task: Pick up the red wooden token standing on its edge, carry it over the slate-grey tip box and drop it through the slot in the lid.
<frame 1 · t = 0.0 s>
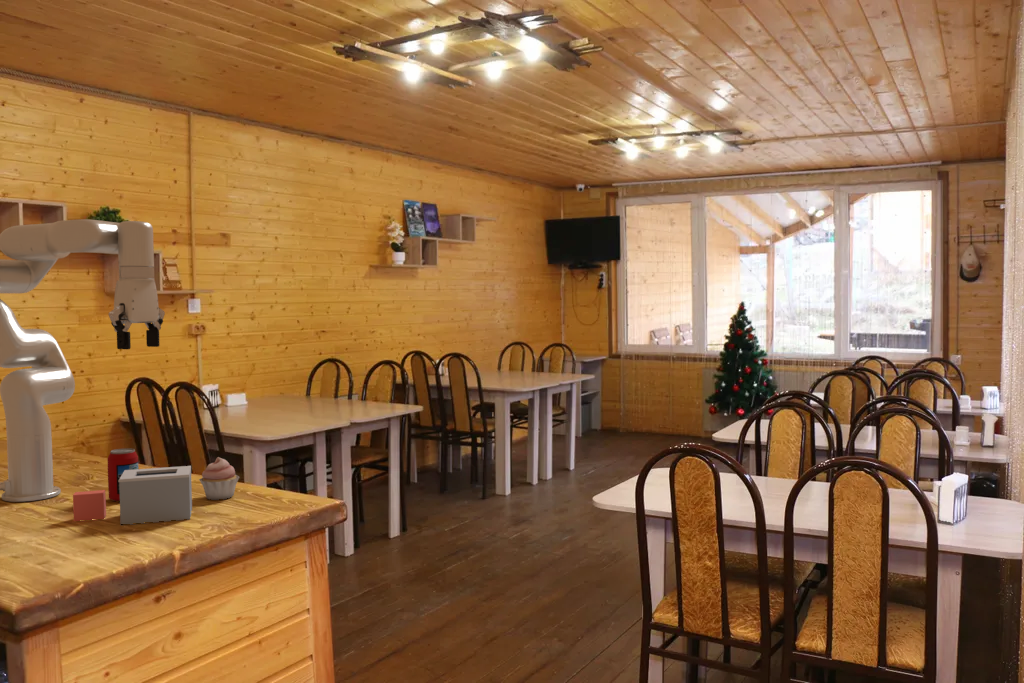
hand: (138, 347, 191), 37 cm above the table, tool pointing down, fingers open, 9 cm apart
beverage can: (124, 499, 199), on the table
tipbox: (157, 516, 183), on the table
cupcake: (219, 498, 200), on the table
token: (90, 519, 181), on the table
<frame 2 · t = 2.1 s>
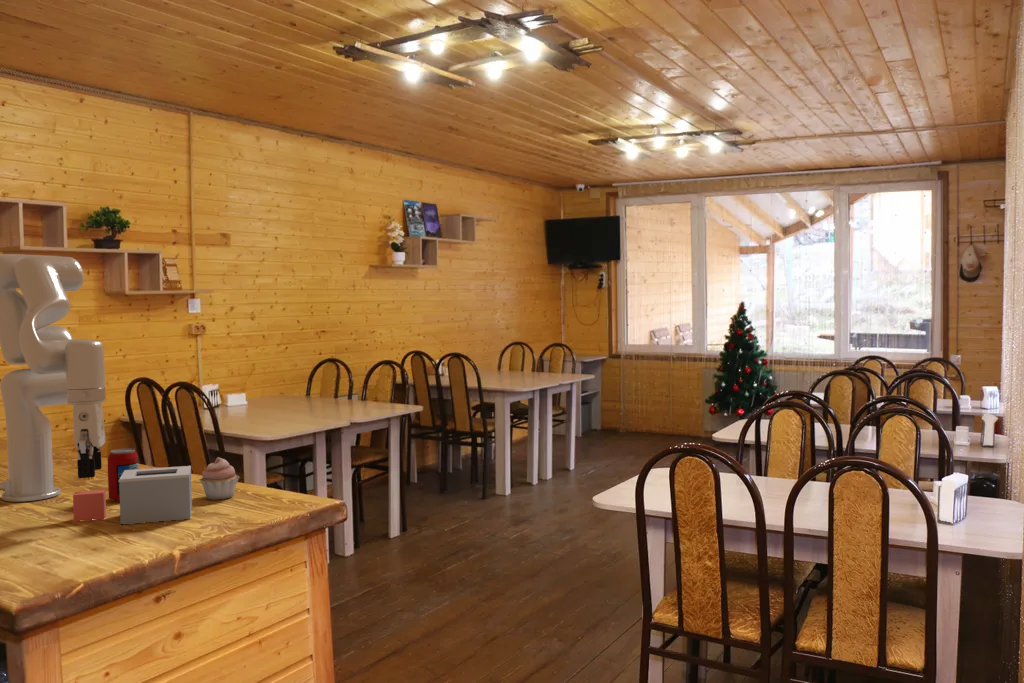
hand: (90, 473, 180), 10 cm above the table, tool pointing down, fingers open, 9 cm apart
nothing on the table moved.
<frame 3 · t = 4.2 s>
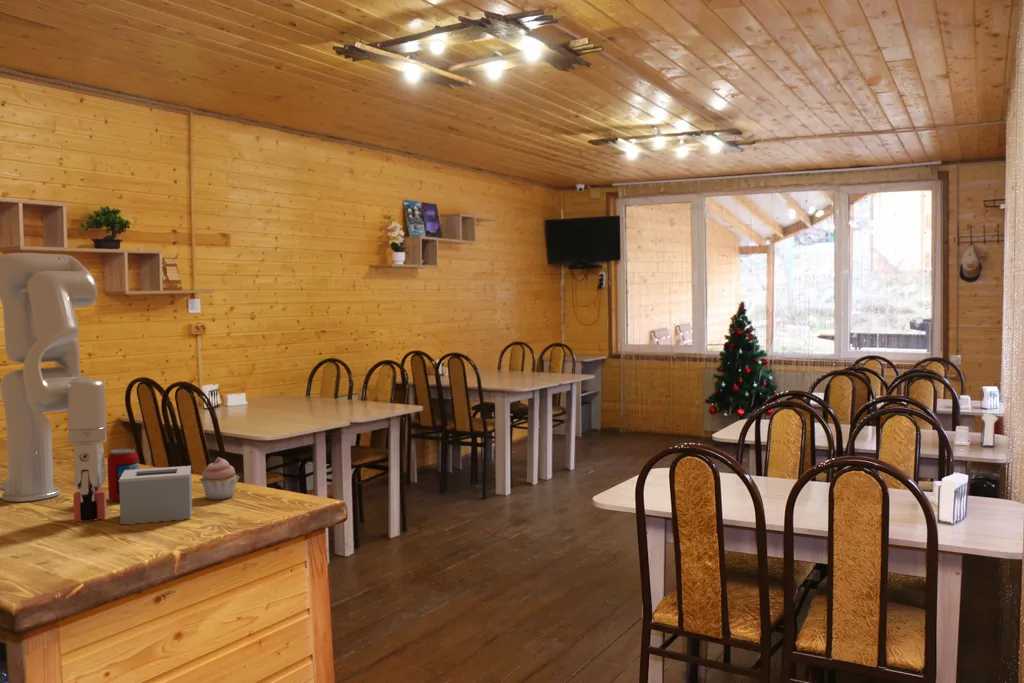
hand: (90, 516, 181), 0 cm above the table, tool pointing down, fingers closed on token, 2 cm apart
token: (90, 518, 181), on the table, touching gripper
everything else where it was.
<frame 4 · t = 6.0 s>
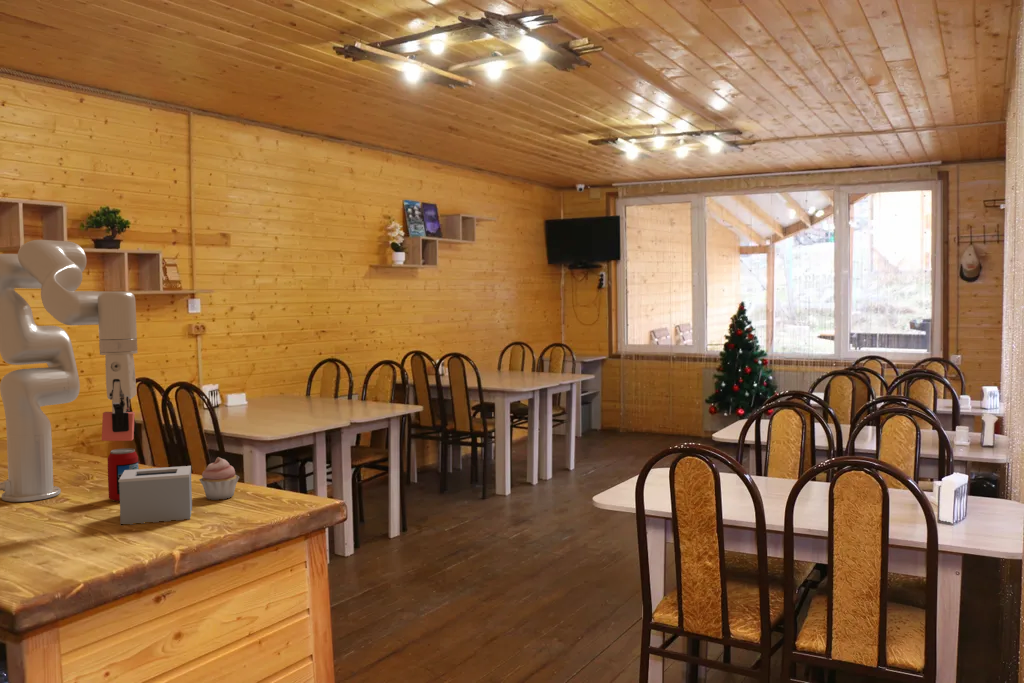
hand: (121, 429, 181), 20 cm above the table, tool pointing down, fingers closed on token, 2 cm apart
token: (117, 439, 180), point 18 cm above the table, touching gripper
everything else where it was.
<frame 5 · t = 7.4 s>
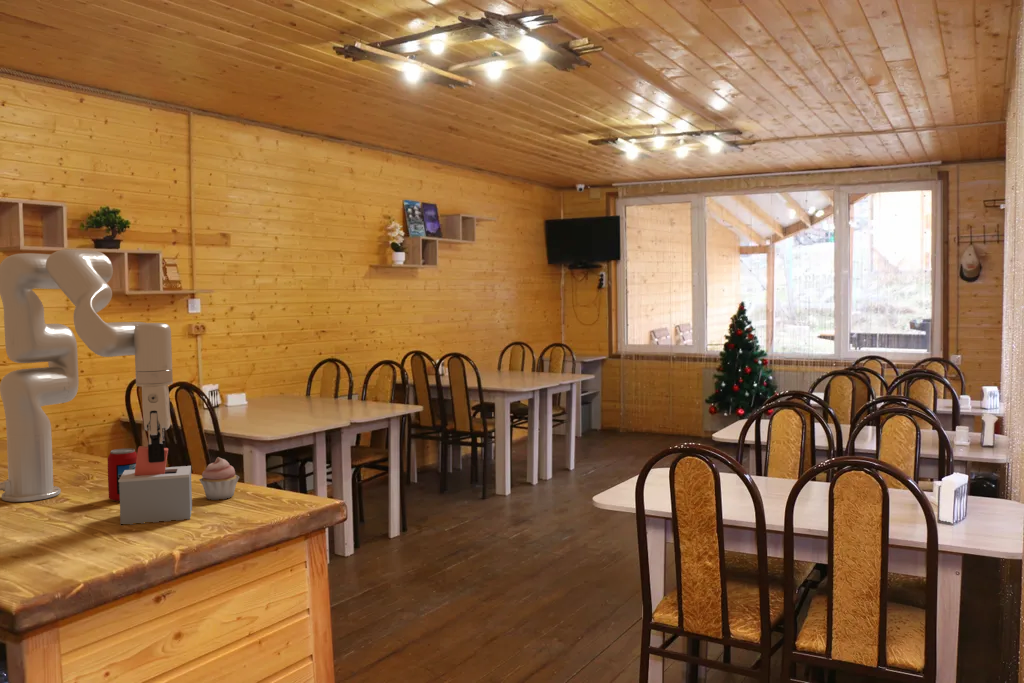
hand: (157, 459, 182), 13 cm above the table, tool pointing down, fingers closed on token, 3 cm apart
token: (149, 474, 182), point 10 cm above the table, tilted 8°, touching gripper, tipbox
everything else where it was.
when the fingers open (12 cm above the table, at t = 8.2 s): token drops 6 cm and tips over, resting on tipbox.
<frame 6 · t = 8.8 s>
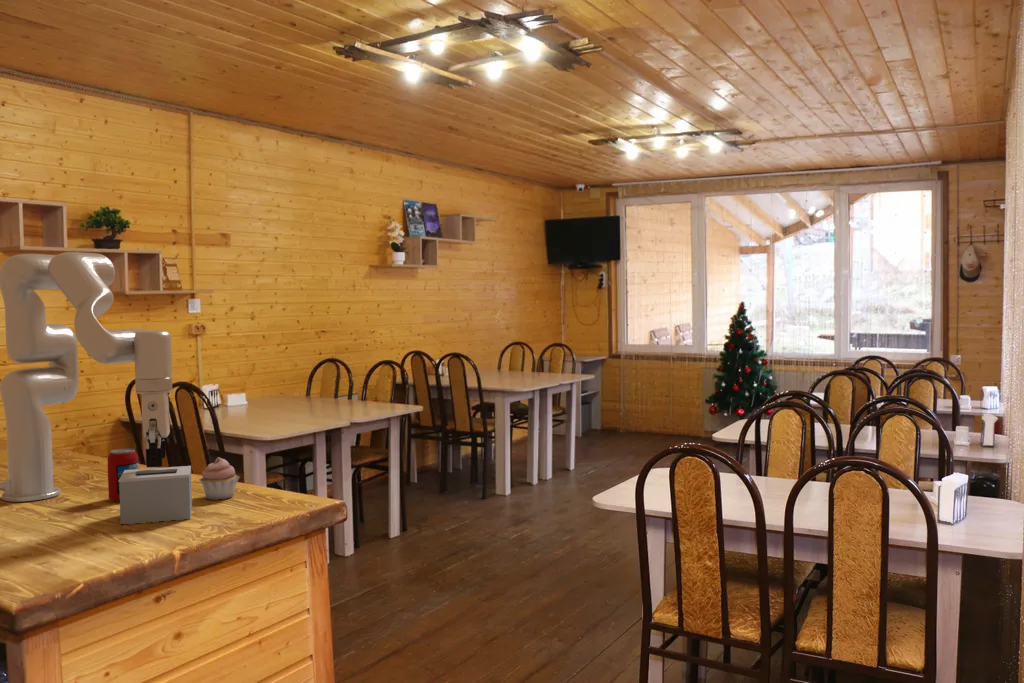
hand: (156, 462, 182), 12 cm above the table, tool pointing down, fingers open, 9 cm apart
token: (148, 501, 182), point 4 cm above the table, tilted 90°, touching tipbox
everything else where it was.
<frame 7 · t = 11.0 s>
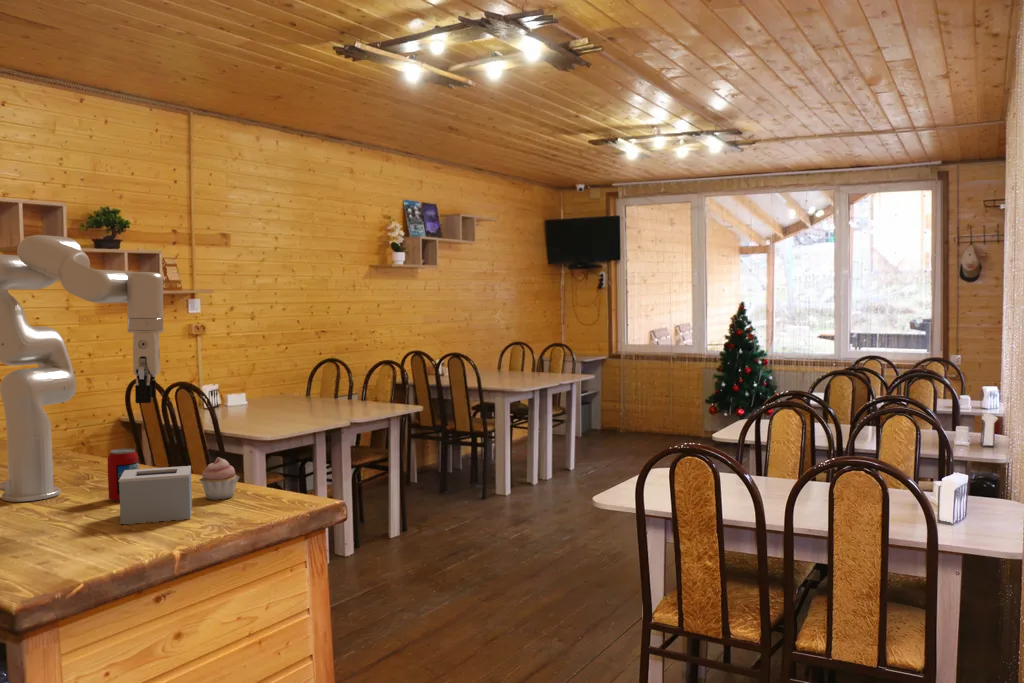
hand: (145, 399, 188), 25 cm above the table, tool pointing down, fingers open, 9 cm apart
nothing on the table moved.
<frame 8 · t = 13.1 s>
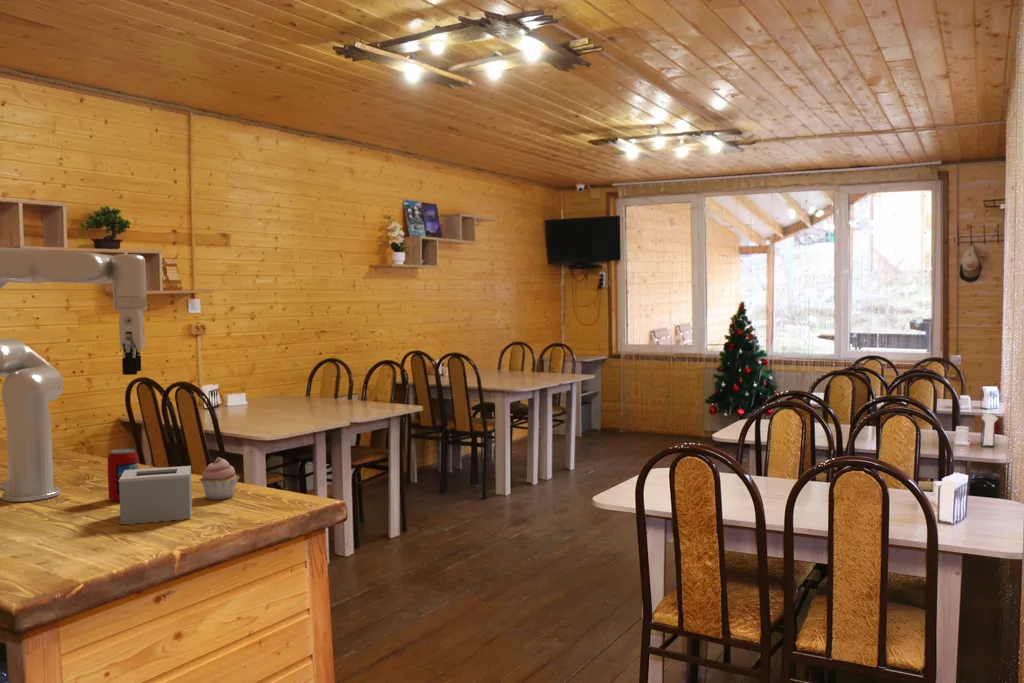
hand: (132, 372, 203), 30 cm above the table, tool pointing down, fingers open, 9 cm apart
nothing on the table moved.
at the end: token inside the target area on the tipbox (1.7 cm from its centre), point 3.6 cm above the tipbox's base; the gripper is holding nothing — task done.
